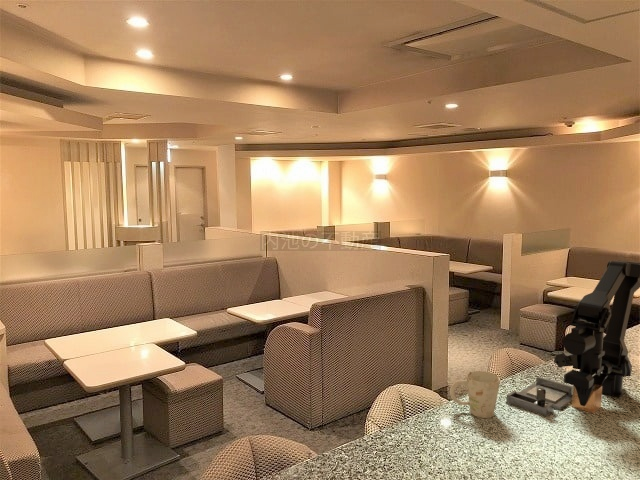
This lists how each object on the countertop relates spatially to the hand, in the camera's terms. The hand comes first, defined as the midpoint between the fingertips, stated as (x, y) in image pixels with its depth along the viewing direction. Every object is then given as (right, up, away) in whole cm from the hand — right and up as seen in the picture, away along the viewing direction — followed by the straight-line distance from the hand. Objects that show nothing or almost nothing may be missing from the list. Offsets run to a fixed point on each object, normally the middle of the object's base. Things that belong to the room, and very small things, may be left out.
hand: (586, 402), depth 136 cm
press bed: (-8, -1, +6) cm, 10 cm away
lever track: (-16, -1, 0) cm, 16 cm away
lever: (-14, -1, -2) cm, 14 cm away
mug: (-32, -2, -4) cm, 32 cm away
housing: (0, -1, 0) cm, 1 cm away
